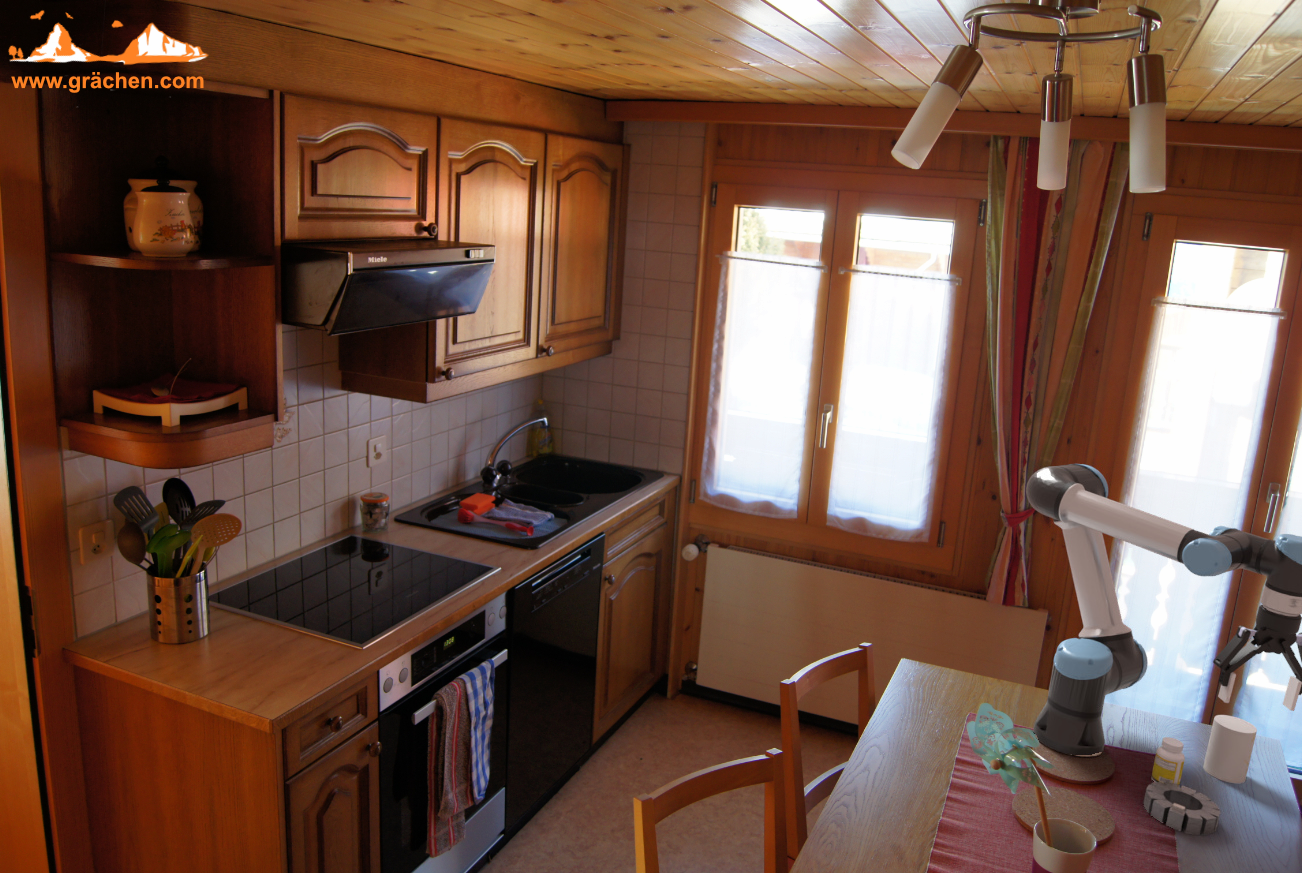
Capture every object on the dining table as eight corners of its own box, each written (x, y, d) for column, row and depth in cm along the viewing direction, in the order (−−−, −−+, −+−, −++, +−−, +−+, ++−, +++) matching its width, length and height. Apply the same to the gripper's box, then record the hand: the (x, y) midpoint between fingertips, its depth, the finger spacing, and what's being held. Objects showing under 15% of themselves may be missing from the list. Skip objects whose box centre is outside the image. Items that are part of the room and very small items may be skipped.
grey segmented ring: (1137, 814, 189) (1141, 796, 188) (1151, 789, 199) (1155, 772, 198) (1210, 843, 181) (1214, 824, 180) (1221, 816, 191) (1225, 798, 190)
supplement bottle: (1166, 776, 205) (1175, 735, 203) (1184, 790, 200) (1193, 748, 198) (1145, 776, 204) (1153, 735, 202) (1162, 790, 199) (1171, 748, 197)
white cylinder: (1251, 786, 204) (1263, 736, 202) (1211, 779, 206) (1222, 729, 203) (1236, 767, 212) (1247, 718, 210) (1197, 760, 213) (1208, 712, 211)
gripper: (1230, 609, 189) (1205, 705, 193) (1354, 624, 188) (1327, 719, 193) (1210, 595, 196) (1187, 688, 200) (1329, 609, 195) (1304, 702, 200)
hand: (1255, 703), depth 196 cm, fingers open, 13 cm apart
